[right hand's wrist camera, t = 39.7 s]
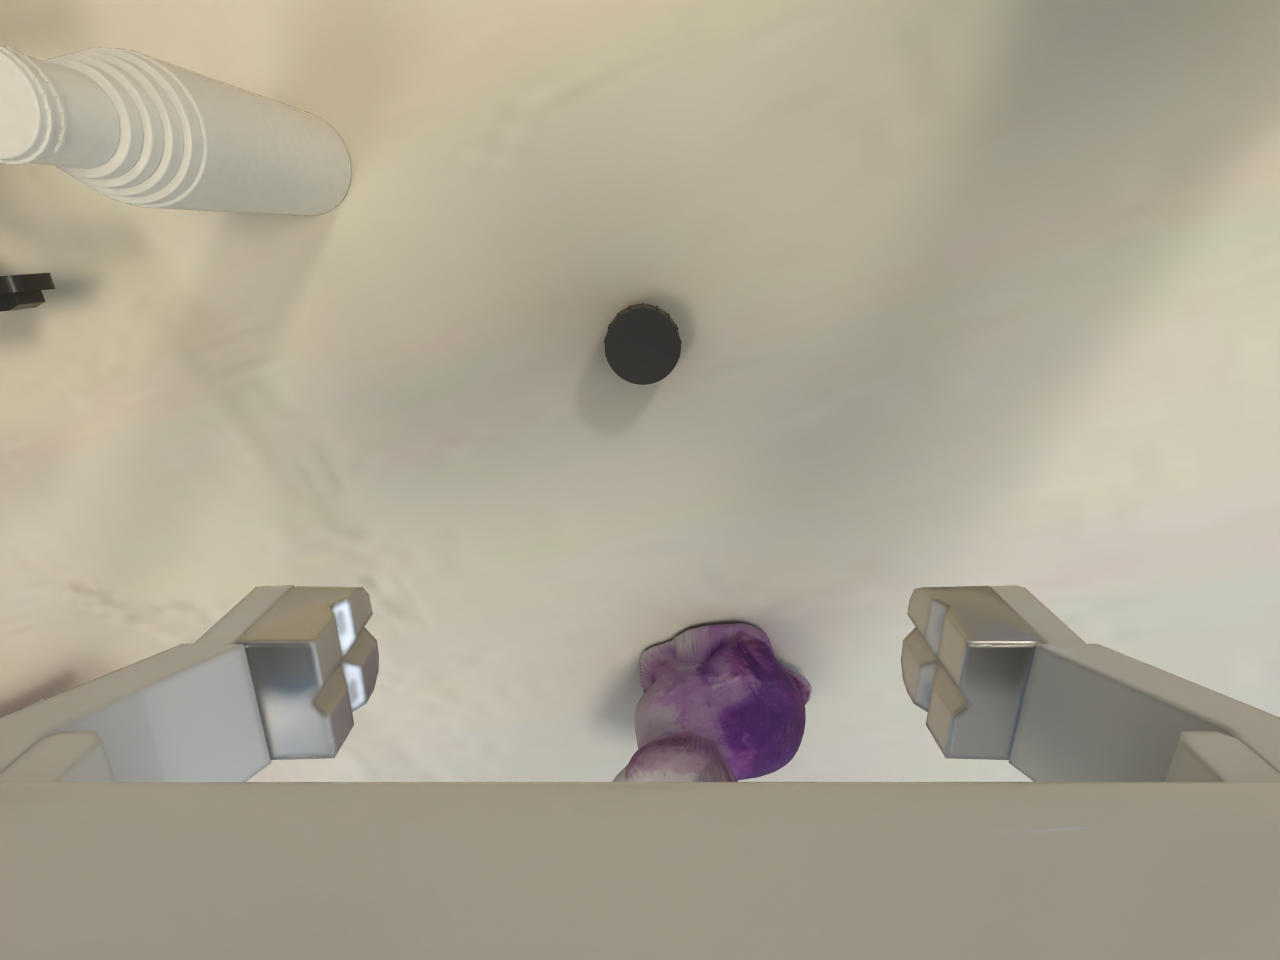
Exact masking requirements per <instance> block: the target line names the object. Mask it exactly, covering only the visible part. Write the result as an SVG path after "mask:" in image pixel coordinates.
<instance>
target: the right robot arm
mask: <svg viewBox="0 0 1280 960" xmlns="http://www.w3.org/2000/svg"><path fill="white" fill-rule="evenodd" d="M372 614H373V613H372V608H371V603H370V598H369V594H368V593H367V592H366V590H365V589H364V588H363V587H320V586H293V585H286V586H261V587H255V588H254V589H253V590H252V591H251V592H250V593H249V594H248V595H247V596H246V597H244V598H243V599H242V600H241V601H240V602H239V603H238V604H237V605H236V606H235V607H233V608H232V609H231V610H230V611H229V612H228V613H227V614H226V615H225V616H224V617H223V618H221V619H220V620H219V621H218V622H217V623H216V624H215V625H214V626H213V627H212V628H210V629H209V630H208V631H207V632H206V633H205V634H204V635H203V636H202V637H201V638H199V639H198V640H197V641H196V642H195V643H194V644H181V645H178V646H176V647H173V648H171V649H168V650H166V651H164V652H161V653H159V654H156V655H154V656H151V657H149V658H146V659H144V660H141V661H139V662H136V663H134V664H131V665H129V666H126V667H124V668H121V669H119V670H116V671H114V672H111V673H109V674H106V675H104V676H102V677H99V678H97V679H94V680H92V681H89V682H87V683H84V684H82V685H79V686H77V687H74V688H72V689H69V690H67V691H64V692H62V693H59V694H57V695H54V696H52V697H49V698H47V699H44V700H42V701H40V702H37V703H35V704H32V705H30V706H27V707H25V708H22V709H20V710H17V711H15V712H12V713H10V714H7V715H5V716H2V717H0V960H1280V717H1277V716H1275V715H1272V714H1270V713H1267V712H1265V711H1262V710H1260V709H1257V708H1255V707H1252V706H1250V705H1248V704H1245V703H1243V702H1240V701H1238V700H1235V699H1233V698H1230V697H1228V696H1225V695H1223V694H1220V693H1218V692H1215V691H1213V690H1210V689H1208V688H1205V687H1203V686H1201V685H1198V684H1196V683H1193V682H1191V681H1188V680H1186V679H1183V678H1181V677H1178V676H1176V675H1173V674H1171V673H1168V672H1166V671H1163V670H1161V669H1158V668H1156V667H1154V666H1151V665H1149V664H1146V663H1144V662H1141V661H1139V660H1136V659H1134V658H1131V657H1129V656H1126V655H1124V654H1121V653H1119V652H1116V651H1114V650H1111V649H1109V648H1107V647H1104V646H1102V645H1099V644H1086V643H1085V642H1084V641H1083V640H1082V639H1081V638H1080V637H1078V636H1077V635H1076V634H1075V633H1074V632H1073V631H1072V630H1071V629H1070V628H1069V627H1067V626H1066V625H1065V624H1064V623H1063V622H1062V621H1061V620H1060V619H1059V618H1058V617H1057V616H1055V615H1054V614H1053V613H1052V612H1051V611H1050V610H1049V609H1048V608H1047V607H1046V606H1044V605H1043V604H1042V603H1041V602H1040V601H1039V600H1038V599H1037V598H1036V597H1035V596H1034V595H1032V594H1031V593H1030V592H1029V591H1028V590H1027V589H1026V588H1024V587H1021V586H1017V585H1009V586H964V587H923V588H917V589H914V591H913V593H912V595H911V598H910V601H909V607H908V613H907V614H908V616H909V617H910V619H911V621H912V622H913V624H914V625H915V628H914V629H913V631H912V632H911V633H910V634H909V635H908V636H907V637H906V638H905V639H904V640H903V647H902V656H901V665H902V675H903V680H904V684H905V687H906V690H907V692H908V694H909V696H910V698H911V700H912V701H913V703H914V704H915V705H917V706H919V707H920V708H922V709H923V710H925V711H927V712H928V715H927V721H926V726H927V727H928V729H929V731H930V732H931V734H932V736H933V737H934V739H935V741H936V743H937V744H938V746H939V748H940V749H941V751H942V753H943V754H944V756H945V758H957V759H994V760H1009V763H1010V764H1011V765H1013V766H1014V767H1015V768H1017V769H1018V770H1019V771H1021V772H1022V773H1023V774H1025V775H1026V776H1027V777H1029V778H1030V779H1031V780H1033V781H1034V782H246V781H248V780H249V779H250V778H252V777H253V776H254V775H256V774H257V773H258V772H260V771H261V770H262V769H264V768H265V767H266V766H268V765H269V764H270V763H271V760H286V759H322V758H335V756H336V755H337V753H338V751H339V749H340V748H341V746H342V744H343V743H344V741H345V739H346V738H347V736H348V734H349V732H350V731H351V729H352V727H353V726H354V721H353V715H352V712H353V711H355V710H357V709H358V708H360V707H361V706H363V705H365V704H366V703H367V701H368V700H369V698H370V696H371V694H372V692H373V690H374V687H375V683H376V679H377V675H378V667H379V653H378V646H377V640H376V639H375V638H374V637H373V636H372V635H371V634H370V633H369V632H368V631H367V629H366V628H365V625H366V624H367V622H368V621H369V619H370V617H371V616H372Z"/></svg>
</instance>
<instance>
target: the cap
mask: <svg viewBox="0 0 1280 960" xmlns="http://www.w3.org/2000/svg"><path fill="white" fill-rule="evenodd" d="M608 329H609V330H608V333H607V336H606V338H605V341H604V343H605V353H606V357H607V360H608V362H609V364H610V366H611V368H612V369H613V370H614V372H615V373H616V374H617V375H618V376H620V377H621V378H622V379H624V380H626V381H628V382H631V383H634V384H642V385H643V384H651V383H655V382H658V381H660V380H662V379H663V378H665V377H666V376H667V375H668V374H669V373H670V372H671V371H672V370H673V369H674V367H675V366H676V364H677V362H678V359H679V357H680V350H681V340H680V337H679V333H678V331H677V330H678V327H677V325H675V323H674V322H673V320H672V319H671V317H670V315H669V314H667V313H666V312H664V311H663V310H661V309H660V308H658V306H656V307H655V306H652V305H647V304H644V303H643V304H638V305H633V306H629V307H628V308H626V309H624V310H623V311H621V312H620V313H617V316H616V317H615V318H614V319H613V321H612V322H611V324H609V327H608Z"/></svg>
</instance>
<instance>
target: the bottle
mask: <svg viewBox="0 0 1280 960" xmlns="http://www.w3.org/2000/svg"><path fill="white" fill-rule="evenodd" d="M0 162H1V163H5V164H10V165H17V164H26V163H34V164H43V165H52V166H56V167H57V168H59V169H61V170H62V171H64V172H66V173H68V174H69V175H71V176H73V177H74V178H76V179H78V180H80V181H81V182H83V183H84V184H86V185H88V186H89V187H91V188H93V189H94V190H96V191H98V192H99V193H101V194H103V195H105V196H107V197H109V198H111V199H114V200H117V201H120V202H125V203H127V204H130V205H134V206H138V207H143V208H160V209H181V210H203V211H224V212H246V213H267V214H289V215H311V216H313V215H320V214H324V213H326V212H329V211H330V210H332V209H334V208H335V207H336V206H337V205H339V203H340V202H341V201H342V200H343V198H344V197H345V195H346V193H347V191H348V188H349V185H350V180H351V163H350V158H349V155H348V152H347V149H346V147H345V145H344V143H343V141H342V139H341V138H340V136H339V135H338V134H337V132H336V131H335V130H334V129H333V128H332V127H331V126H330V125H329V124H328V123H326V122H325V121H324V120H322V119H321V118H319V117H317V116H315V115H313V114H310V113H307V112H305V111H302V110H299V109H296V108H293V107H291V106H288V105H285V104H282V103H279V102H276V101H274V100H271V99H268V98H265V97H262V96H260V95H257V94H254V93H251V92H248V91H245V90H243V89H240V88H237V87H234V86H231V85H229V84H226V83H223V82H220V81H217V80H215V79H212V78H209V77H206V76H203V75H200V74H198V73H195V72H192V71H189V70H186V69H184V68H181V67H178V66H175V65H172V64H170V63H167V62H164V61H161V60H158V59H155V58H153V57H150V56H147V55H144V54H141V53H138V52H135V51H131V50H126V49H112V48H100V47H99V48H91V49H87V50H83V51H80V52H76V53H72V54H69V55H64V56H61V57H57V58H52V59H48V60H45V61H43V60H40V59H36V58H33V57H29V56H26V55H24V54H22V53H20V52H18V51H16V50H15V49H13V48H10V47H7V46H3V45H0Z"/></svg>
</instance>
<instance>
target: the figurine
mask: <svg viewBox="0 0 1280 960" xmlns="http://www.w3.org/2000/svg"><path fill="white" fill-rule="evenodd" d="M640 666H641V668H640V669H641V680H642V681H641V683H642V685H641V686H642V687H643V689H644V690H643V691H644V693H645V694H644V695H643V696H642V698H641V699H640V701H639V703H638V705H637V708H636V713H635V733H636V738H637V744H638V751H637V752H636V753H635V754H634V755H633V757H632V758H631V760H630V762H629V764H628V765H627V766H626V767H625V768H624V769H623V770H622V771H621V772H620V773H619V774H618V775H617V776H616V777H615V779H614V780H613V782H738V781H737V780H742V779H749V778H756V777H760V776H764V775H767V774H770V773H772V772H775V771H777V770H779V769H780V768H782V767H783V766H785V765H786V764H787V763H789V762H790V761H791V759H792V758H793V757H794V755H795V754H796V752H797V750H798V748H799V746H800V744H801V740H802V737H803V734H804V728H805V704H806V703H807V702H808V701H809V700H810V698H811V695H812V687H811V685H810V683H809V682H808V680H807V679H806V678H805V677H803V676H801V675H799V674H797V673H795V672H793V671H791V670H789V669H788V668H786V667H784V666H783V665H781V664H780V663H779V662H778V661H777V660H776V658H775V656H774V653H773V649H772V646H771V643H770V641H769V638H768V637H767V635H766V634H765V633H764V632H763V631H762V630H760V629H759V628H756V627H754V626H752V625H749V624H745V623H733V624H717V625H705V626H701V627H697V628H692V629H691V628H689V629H688V630H686V631H685V632H683V633H681V634H680V635H678V636H676V637H675V638H674V639H673V640H672V641H668V642H666V643H664V644H659V645H657V646H653V647H651V648H649V649H647V650H646V651H644V652H643V653H642V657H641V658H640Z"/></svg>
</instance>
